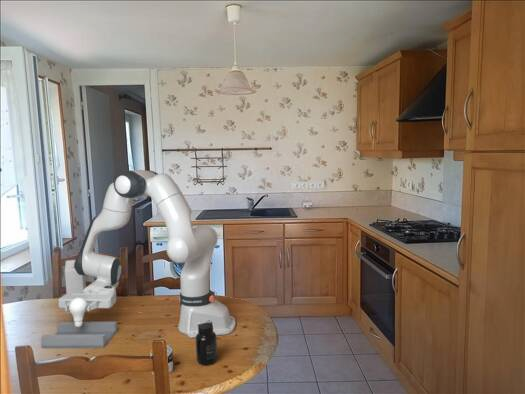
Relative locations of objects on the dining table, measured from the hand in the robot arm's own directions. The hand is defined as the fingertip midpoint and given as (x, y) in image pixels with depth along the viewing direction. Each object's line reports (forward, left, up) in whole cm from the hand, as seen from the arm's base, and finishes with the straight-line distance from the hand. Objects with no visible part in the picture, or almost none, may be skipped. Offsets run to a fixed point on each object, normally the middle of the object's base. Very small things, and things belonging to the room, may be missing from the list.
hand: (77, 309), depth 135 cm
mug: (-36, +17, -12) cm, 42 cm away
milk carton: (+21, -39, -12) cm, 46 cm away
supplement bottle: (-49, +13, -12) cm, 52 cm away
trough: (0, -1, -12) cm, 12 cm away
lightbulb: (0, -1, -7) cm, 7 cm away
